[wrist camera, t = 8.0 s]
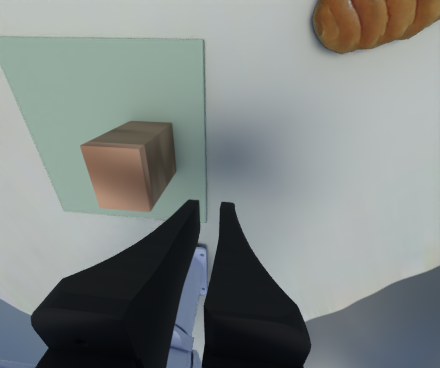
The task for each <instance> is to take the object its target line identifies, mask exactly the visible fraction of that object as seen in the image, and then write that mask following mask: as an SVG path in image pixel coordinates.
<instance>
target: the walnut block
mask: <svg viewBox="0 0 440 368" xmlns="http://www.w3.org/2000/svg"><path fill="white" fill-rule="evenodd" d="M80 148H81V151H82V154H83V158H84V161H85V164H86V167H87V170H88V173H89V176H90V179H91V182H92V186H93V189H94V192H95V195H96V198H97V201H98V204H99V207H100V208H104V209H117V210H129V211H141V212H151V210H152V209H153V207H154V206H155V204H156V203H157V201H158V200H159V198H160V196H161V195H162V193H163V192H164V190H165V189H166V187H167V186H168V184H169V182H170V181H171V179H172V178H173V176H174V175H175V173H176V172H177V171H176V159H175V148H174V137H173V126H172V123H168V122H147V121H129V122H127V123H125V124H123V125H121V126H119V127H117V128H115V129H113V130H110V131H108V132H106V133H104V134H102V135H100V136H98V137H96V138H94V139H92V140H90V141H88V142H86V143H84V144H82V145H80Z"/></svg>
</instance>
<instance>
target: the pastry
mask: <svg viewBox="0 0 440 368" xmlns="http://www.w3.org/2000/svg"><path fill="white" fill-rule="evenodd" d="M438 20H440V0H319V1H318V3H317V5H316V8H315V10H314V14H313V20H312V21H313V25H314V30H315V33H316V35H317V37H318V38H319V39H320V41H321V43H322V44H323V45H324V47H326V48H328V49H330V50H333V51H335V52H337V53H339V54H344V53H347V52H352V51H355V50H359V49H372V48H375V47H377V46H380V45H382V44H384V43H388V42H391V41H394V40H404V39H409V38H411V37H412V36H414V35H416V34H417V33H418V32H420V31H422V30H423V29H424V28H425V27H428V26H430V25H431V24H432V23H434V22H436V21H438Z"/></svg>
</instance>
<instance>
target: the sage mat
mask: <svg viewBox="0 0 440 368" xmlns="http://www.w3.org/2000/svg"><path fill="white" fill-rule="evenodd" d="M0 65H1V67H2V70H3V72H4V74H5V77H6V79H7V81H8V84H9V86H10V88H11V90H12V93H13V95H14V97H15V100H16V102H17V104H18V107H19V109H20V111H21V114H22V116H23V118H24V120H25V123H26V125H27V127H28V130H29V132H30V134H31V137H32V139H33V141H34V144H35V146H36V148H37V150H38V153H39V155H40V157H41V160H42V162H43V164H44V167H45V169H46V171H47V174H48V176H49V178H50V180H51V183H52V185H53V187H54V190H55V192H56V194H57V197H58V199H59V201H60V204H61V206H62V208H63V210H64V211H65V212H77V213H89V214H101V215H113V216H125V217H137V218H149V219H161V220H167V219H168V218H170V217H171V216H172V215H173V214H174V213H175V212H176V211H177V210H178V209H179V208H180V207H181V206H182V205H183V204H184V203H185V202H186V201H187V200H189V199H191V200H199V203H200V223H206V221H207V203H206V140H205V76H204V40H203V39H125V38H42V37H0ZM129 121H147V122H168V123H172V126H173V137H174V148H175V159H176V171H177V172H176V173H175V175H174V176H173V178H172V179H171V181H170V182H169V184H168V186H167V187H166V189H165V190H164V192H163V193H162V195H161V196H160V198H159V200H158V201H157V203H156V204H155V206H154V207H153V209H152V210H151V212H141V211H129V210H117V209H104V208H100V207H99V204H98V201H97V198H96V195H95V192H94V189H93V186H92V182H91V179H90V176H89V173H88V170H87V167H86V164H85V161H84V158H83V154H82V151H81V148H80V145H82V144H84V143H86V142H88V141H90V140H92V139H94V138H96V137H98V136H100V135H102V134H104V133H106V132H108V131H110V130H113V129H115V128H117V127H119V126H121V125H123V124H125V123H127V122H129Z"/></svg>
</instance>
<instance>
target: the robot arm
mask: <svg viewBox="0 0 440 368" xmlns="http://www.w3.org/2000/svg"><path fill="white" fill-rule="evenodd" d="M199 233H200V203H199V200H191V199H189V200H187V201H186V202H185V203H184V204H183V205H182V206H181V207H180V208H179V209H178V210H177V211H176V212H175V213H174V214H173V215H172V216H171V217H170V218H168V219H167V220H166V221H165V222H164V223H163V224H162V225H160V226H159V227H158V228H157V229H155V230H154V231H153V232H152V233H150V234H149V235H148V236H146V237H145V238H143V239H142V240H140V241H139V242H137V243H136V244H134V245H132V246H131V247H129V248H127V249H125V250H124V251H122V252H120V253H119V254H117V255H115V256H113V257H111V258H109V259H107V260H105V261H103V262H101V263H99V264H97V265H94V266H92V267H90V268H88V269H85V270H83V271H80V272H78V273H75V274H73V275H71V276H68V277H66V278H63V279H62V280H61V281H60V282H59V283H58V284H57V285H56V287H55V288H54V289H53V290H52V291H51V292H50V293H49V295H48V296H47V297H46V298H45V299H44V301H43V302H42V303H41V304H40V305H39V306H38V308H37V309H36V310H35V311H34V312H33V314H32V316H31V324H32V326H33V328H34V330H35V331H36V332H37V334H38V335H39V336H40V337H41V339H42V340H43V341H44V342H45V344H46V345H47V346H48V347H49V348H48V350H47V351H46V353H45V354H44V356H43V357H42V358H41V360H40V361H39V363H38V364H37V365H31V364H24V363H17V362H10V361H4V360H0V368H304V367H303V365H304V363H305V360H306V359H307V357H308V354H309V352H310V349H311V342H310V338H309V334H308V331H307V328H306V325H305V322H304V320H303V317H302V315H301V312H300V310H299V308H298V306H297V305H296V304H295V303H294V302H293V300H292V299H291V298H290V297H289V296H288V295H287V294H286V293H285V292H284V291H283V290H282V289H281V288H280V287H279V285H278V284H277V283H276V282H275V281H274V280H273V278H272V277H271V276H270V275H269V273H268V272H267V271H266V269H265V268H264V267H263V265H262V264H261V263H260V261H259V260H258V258H257V257H256V255H255V254H254V252H253V250H252V249H251V247H250V245H249V243H248V242H247V240H246V238H245V235H244V233H243V231H242V229H241V226H240V224H239V221H238V218H237V215H236V211H235V204H234V203H231V202H222V203H221V206H220V222H219V240H218V245H217V250H216V255H215V260H214V265H213V270H212V274H211V278H210V283H209V287H208V291H207V256H206V249H205V248H203V247H197V243H198V238H199ZM206 294H207V295H206ZM200 295H206V299H205V302H204V331H205V346H204V353H203V360H202V364H201V360H200V358H199V354H198V352H197V351H196V350H192V347H193V342H194V337H191V336H192V331H193V326H194V321H195V316H196V311H197V306H198V301H199V296H200Z"/></svg>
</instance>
